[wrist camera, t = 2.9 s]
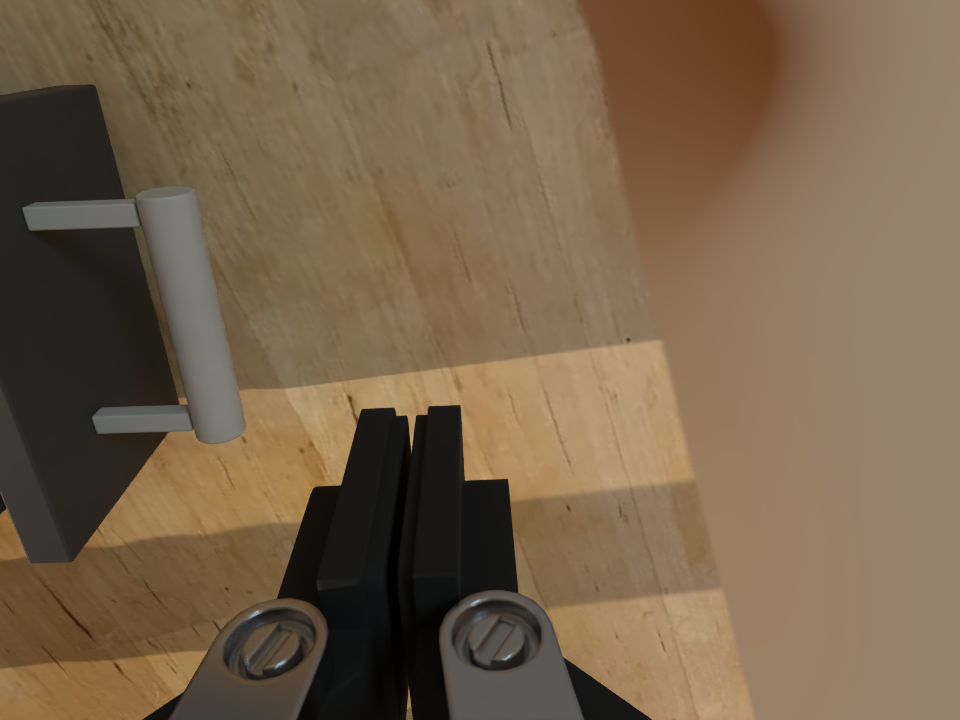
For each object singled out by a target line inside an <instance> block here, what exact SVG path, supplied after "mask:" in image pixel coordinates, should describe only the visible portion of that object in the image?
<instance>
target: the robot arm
mask: <svg viewBox="0 0 960 720" xmlns="http://www.w3.org/2000/svg"><path fill="white" fill-rule="evenodd" d="M408 689H409V690H410V698H411V707H412V715H413V720H652V719H650V718H649V717H648V716H646V715H645V714H643V713H642V712H640V711H639V710H638V709H636V708H635V707H633V706H632V705H631V704H629V703H628V702H626V701H625V700H623V699H622V698H621V697H619V696H618V695H616V694H615V693H613V692H612V691H611V690H609V689H608V688H606V687H605V686H604V685H602V684H601V683H599V682H598V681H596V680H595V679H594V678H592V677H591V676H589V675H588V674H586V673H585V672H584V671H582V670H581V669H579V668H578V667H577V666H575V665H574V664H572V663H571V662H569V661H568V660H567V659H565V658H564V657H563V655H562V652H561V649H560V646H559V643H558V640H557V637H556V634H555V631H554V628H553V625H552V623H551V621H550V619H549V617H548V616H547V614H546V612H545V610H543V609H542V608H541V607H540V606H539V605H538V604H537V603H536V602H535V601H534V600H532V599H530V598H527V597H525V596H523V595H521V594H519V593H518V584H517V573H516V562H515V550H514V539H513V528H512V517H511V506H510V495H509V485H508V479H496V480H471V481H465V476H464V458H463V439H462V421H461V407H460V405H452V406H429V408H428V415H417V416H416V422H415V430H414V438H413V446H412V454H411V445H410V435H409V424H408V418H407V416H396V411H395V408H375V409H362V410H361V413H360V416H359V420H358V424H357V428H356V431H355V435H354V439H353V443H352V447H351V450H350V454H349V458H348V462H347V465H346V469H345V473H344V477H343V481H342V484H341V486H317V487H315V488H314V489H313V491H312V493H311V495H310V498H309V501H308V504H307V507H306V510H305V514H304V517H303V520H302V523H301V526H300V529H299V532H298V535H297V538H296V541H295V544H294V548H293V551H292V554H291V557H290V560H289V563H288V566H287V569H286V572H285V575H284V579H283V582H282V585H281V588H280V591H279V594H278V597H277V599H273V600H269V601H266V602H262V603H258V604H256V605H254V606H252V607H250V608H248V609H246V610H244V611H242V612H240V613H239V614H238V615H237V616H235V617H234V618H233V619H231V620H230V621H229V622H228V623H227V624H226V625H225V626H224V627H223V629H222V630H221V631H220V633H219V634H218V635H217V636H216V638H215V640H214V641H213V643H212V645H211V647H210V648H209V650H208V652H207V653H206V655H205V657H204V659H203V660H202V662H201V664H200V665H199V667H198V669H197V671H196V672H195V674H194V676H193V677H192V679H191V681H190V683H189V684H188V686H187V688H186V689H185V691H184V692H183V693H181V694H180V695H178V696H177V697H175V698H174V699H172V700H171V701H169V702H168V703H166V704H165V705H163V706H162V707H161V708H159V709H158V710H156V711H155V712H153V713H152V714H150V715H149V716H147V717H146V718H144V719H143V720H406V712H407V700H408Z"/></svg>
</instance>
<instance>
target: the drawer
mask: <svg viewBox="0 0 960 720" xmlns="http://www.w3.org/2000/svg"><path fill="white" fill-rule="evenodd" d="M141 225H142V228H143V232H144V236H145V240H146V244H147V247H148V251H149V255H150V259H151V263H152V267H153V271H154V275H155V279H156V282H157V286H158V290H159V294H160V298H161V302H162V306H163V310H164V313H165V317H166V321H167V325H168V329H169V333H170V337H171V341H172V344H173V348H174V352H175V356H176V360H177V364H178V368H179V372H180V375H181V379H182V383H183V387H184V391H185V395H186V399H187V403H188V405H180V404H179V400H178V397H177V393H176V389H175V385H174V382H173V378H172V374H171V370H170V366H169V363H168V359H167V355H166V351H165V347H164V344H163V340H162V336H161V332H160V329H159V325H158V321H157V317H156V313H155V310H154V306H153V302H152V298H151V294H150V291H149V287H148V283H147V279H146V276H145V272H144V268H143V264H142V260H141V257H140V253H139V249H138V245H137V241H136V238H135V234H134V230H133V227H140V226H141ZM193 429H194V430H195V434H196V437H197V439H198V440H199V441H201V442H203V443H207V444H219V443H224V442H228V441H230V440H233V439H235V438H237V437H238V436H240V435H241V434H242V433H243V432H244V431H245V429H246V422H245V417H244V412H243V408H242V403H241V399H240V394H239V389H238V385H237V380H236V376H235V371H234V367H233V362H232V357H231V353H230V348H229V344H228V339H227V334H226V330H225V325H224V321H223V316H222V311H221V307H220V302H219V298H218V293H217V288H216V284H215V279H214V275H213V270H212V265H211V261H210V256H209V252H208V247H207V243H206V238H205V233H204V229H203V224H202V220H201V215H200V210H199V206H198V201H197V197H196V192H195V190H194V188H192V187H187V186H168V187H159V188H153V189H149V190H145V191H142V192H139V193H137V194H136V195H135V199H125V196H124V192H123V188H122V185H121V181H120V177H119V173H118V170H117V166H116V162H115V158H114V154H113V151H112V147H111V143H110V139H109V135H108V132H107V128H106V124H105V120H104V117H103V113H102V109H101V105H100V101H99V98H98V94H97V90H96V87H95V86H94V85H66V86H54V87H48V88H42V89H36V90H30V91H24V92H18V93H12V94H6V95H1V96H0V514H1V513H2V512H3V511H4V510H5V509H6V508H7V510H8V513H9V515H10V517H11V520H12V522H13V524H14V527H15V529H16V531H17V534H18V536H19V538H20V541H21V543H22V545H23V548H24V550H25V553H26V555H27V557H28V560H29V562H30V563H56V562H72V561H73V560H74V559H75V558H76V556H77V555H78V554H79V552H80V551H81V549H82V548H83V547H84V545H85V544H86V543H87V541H88V540H89V539H90V537H91V536H92V535H93V533H94V532H95V531H96V529H97V528H98V527H99V525H100V524H101V522H102V521H103V520H104V518H105V517H106V516H107V514H108V513H109V512H110V510H111V509H112V508H113V506H114V505H115V504H116V502H117V501H118V500H119V498H120V497H121V495H122V494H123V493H124V491H125V490H126V489H127V487H128V486H129V485H130V483H131V482H132V481H133V479H134V478H135V477H136V475H137V474H138V473H139V471H140V470H141V468H142V467H143V466H144V464H145V463H146V462H147V460H148V459H149V458H150V456H151V455H152V454H153V452H154V451H155V450H156V448H157V447H158V446H159V444H160V443H161V441H162V440H163V439H164V437H165V436H166V435H167V433H168V432H173V431H192V430H193Z"/></svg>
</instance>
